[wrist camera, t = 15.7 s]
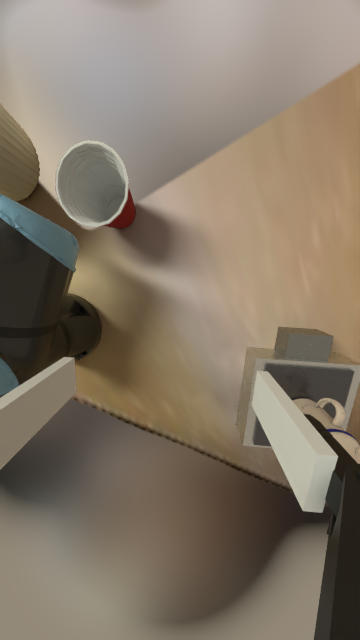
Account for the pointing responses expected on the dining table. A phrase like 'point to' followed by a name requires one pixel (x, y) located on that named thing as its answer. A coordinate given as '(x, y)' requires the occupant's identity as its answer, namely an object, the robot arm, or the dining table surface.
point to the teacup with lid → (331, 422)
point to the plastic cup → (94, 186)
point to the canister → (16, 159)
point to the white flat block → (297, 377)
